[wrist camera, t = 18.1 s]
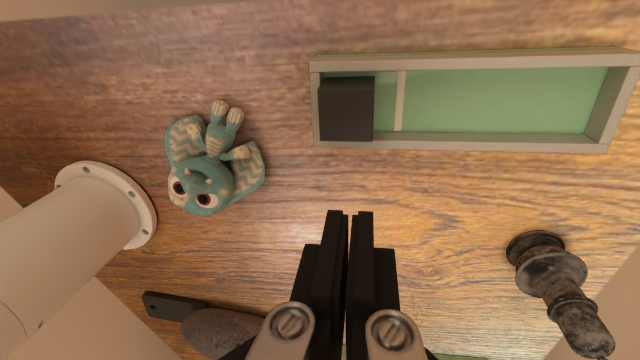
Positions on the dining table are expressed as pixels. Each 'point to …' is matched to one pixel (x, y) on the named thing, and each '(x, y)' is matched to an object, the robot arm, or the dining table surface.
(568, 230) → the dining table surface
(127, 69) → the dining table surface
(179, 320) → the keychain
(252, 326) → the perforated stone tool
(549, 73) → the green beige rectangular tray
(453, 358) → the tray
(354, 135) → the dark brown cube
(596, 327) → the chess piece
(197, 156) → the teal creature figurine
